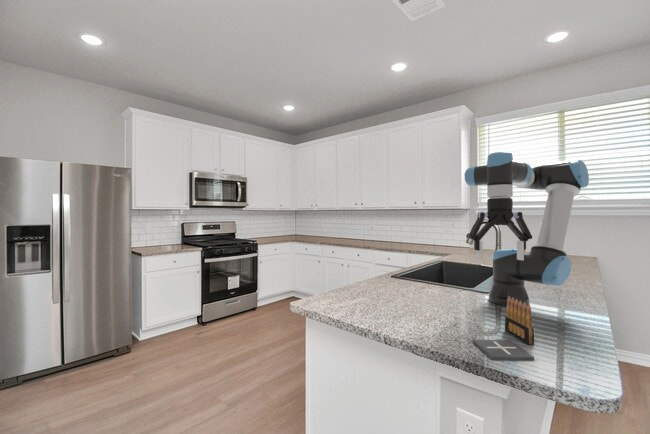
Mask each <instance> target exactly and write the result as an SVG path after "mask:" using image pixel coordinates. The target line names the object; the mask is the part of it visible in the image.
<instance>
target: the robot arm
mask: <svg viewBox="0 0 650 434" xmlns="http://www.w3.org/2000/svg"><path fill="white" fill-rule="evenodd" d="M464 181H465V183H466V185H468V186H470V187H471V186H475V187H476V186H486V187H487V193H486V196H487V201H486V205H487V207H486V208H487V211H486V212H483V211H479V212H478V213H477V217H476V220H475V223H474V224H473V226H472V228H471V230H470V231H469V233H468V234H469V235H468V236H467V238H468V239H469V240H472V241H473V249H474V251H476V260H477V261H482V262H483V255H484V253H483V240H482V239H483V237H484V236H486V234H487V233H488V232H489V231H490V229H491V228H492V227H494V226H507V228H509V229H510V230H511V232H512V233H513V234H514V235H515V237H516V238H518V240H516V248H504V249H496V250H494V251H493V253H492V279H493V280H492V285H491V288H490V290H489V293H488V302H490V303H493V304H495V305H499V306H504V307H507V299H508V296H510V298H511V299H512V297H513V298H514V301H515V300H516V299H517V300H518V303H519V301H520V300H521V302H522V305H523V303H524V302H525V303H526V306H528V304H530V297H529V294H528V291H527V289H526V285H525V282H530V283H534V284H535V283H536V284H542V285H546V286H555V287H558V286H562V285H563V284H566V282H567V281H568V279H569V276H570V274H571V271H572V267H571V266H572V262H571V261H572V260H571V259H570V258H569V257H568V256H567V253H566V252H565V250H564V246H565V240H566V235H567V231H568V226H569V222H570V217H571V212H572V209H573V208H572V207H573V203H574V198H575V197H576V196H578V195H579V194H580V193H581V188H582V189H584V188H587V187H588V185H589V183H590V176H589V170H588V168H587V165H586V163H585V162H584V161H583V160H581V159H573V160H572V159H568V160H564V161H555V162H547V163H539V164H534V165H531V164H529V163H528V162H526V161H522V160H514V158H513V153H512V152H511V151H496V152H491V153H489V154H488V155H487V161H486V164H483V165H479V166H477V165H476V166H471V167H469V168H467V169H465V172H464ZM514 186H515V187H517V188H519V189H528V190H539V191H543V190H544V191H545V192H546V193H547V194H548V195H547V198H546V202H545V207H544V212H543V215H542V221H541V224H540V229H539V233H538V238H537V242H536V244H535V245H532V246H531V248H530V252H526V250H527V242H528V241H529V240H532V239H533V235H532V234H531V231H530V229H529V227H528V226H527V223H526V222H525V220H524V217H523V212H522V211H515V212H513V206H514V205H513V198H511V197H513V195H514V194H513V193H514V192H513V187H514ZM486 218H487V219H488V220H487V221H486V222H485V224H484V225H483V223H484V220H485V219H486ZM513 218H514V219H515V222H516V224H517V225H518V227H519V228H518V227H517V225H516V224H515V222H514V221H513V220H512V219H513ZM482 225H483V226H482ZM481 227H482V228H481ZM481 240H482V241H481Z"/></svg>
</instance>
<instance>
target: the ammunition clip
mask: <svg viewBox="0 0 650 434" xmlns="http://www.w3.org/2000/svg"><path fill="white" fill-rule="evenodd" d="M505 314H506V315H505V316H504V332H505V333H507V334H509V335H510V336H512V337H513V338H515V339H517V340H518V341H519V342H522V343H524V344H525V345H526V346H534V345H535V333H534V332H535V331H534V329H535V328H534V327H533V316H532V315H533V314H532V307H531V304H530V303H529V304H528V306H526V303H525V302H524V303H523V305H522V302H521V300H520V301H519V303H518V300H517V299H516V300H515V301H514V298H513V297H512V299H511V298H510V296H508V299H507V306H506V311H505Z"/></svg>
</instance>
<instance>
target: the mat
mask: <svg viewBox="0 0 650 434" xmlns="http://www.w3.org/2000/svg"><path fill="white" fill-rule="evenodd" d="M472 340H473V341H472V343H473V344H474V345H476V347H477V348H478V349H479V350H480V351H481V352H483V354H485V355H486V356H487V357H488V358H489V359H490V360H493V361H534V360H535V356H534V355H532V354H531V353H529V352H528V351H527V350H525V349H524V348H522V347H521V346H519V344H516V343H515V342H514V341H513V340H511V339H472Z"/></svg>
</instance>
